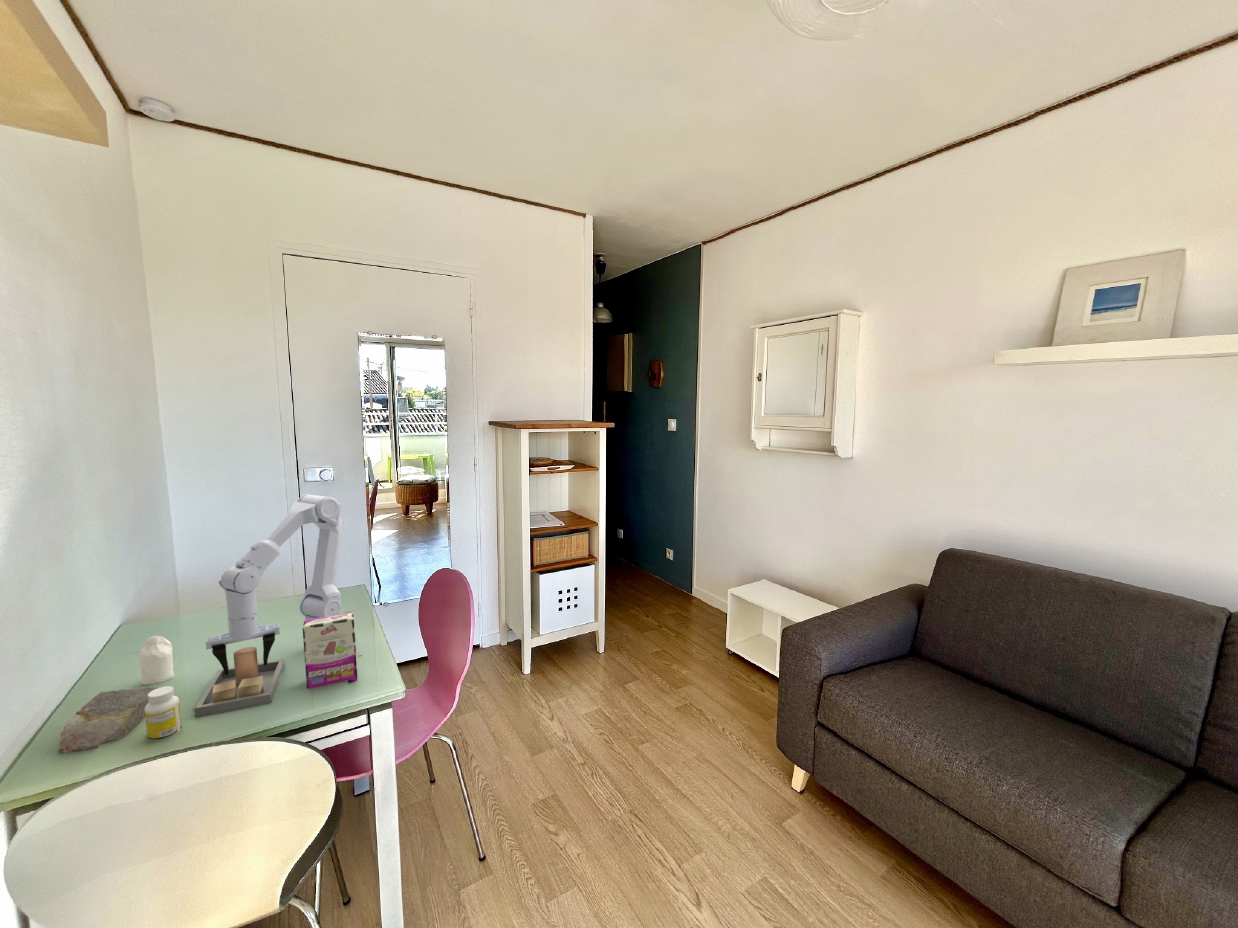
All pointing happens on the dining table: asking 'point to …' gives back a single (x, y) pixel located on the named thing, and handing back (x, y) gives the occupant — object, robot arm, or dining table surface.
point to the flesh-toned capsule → (245, 664)
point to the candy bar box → (330, 650)
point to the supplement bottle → (162, 714)
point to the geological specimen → (104, 719)
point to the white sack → (156, 660)
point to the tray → (270, 684)
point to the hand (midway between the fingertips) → (246, 668)
